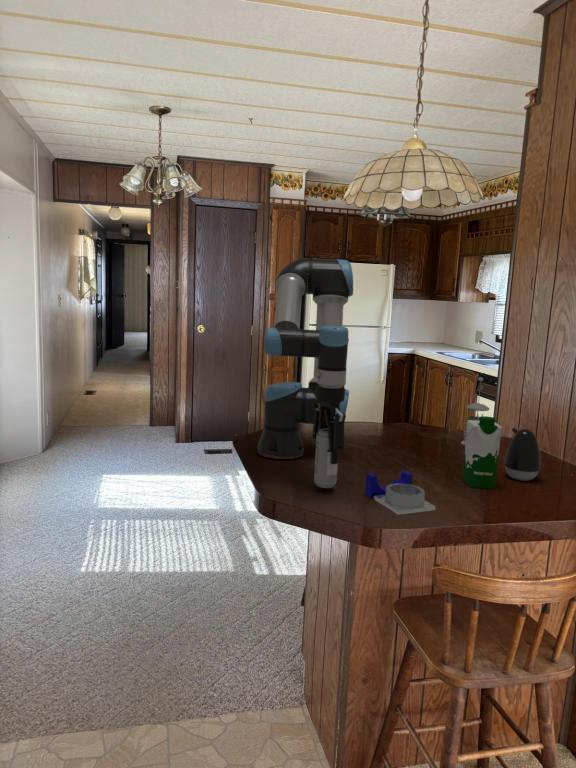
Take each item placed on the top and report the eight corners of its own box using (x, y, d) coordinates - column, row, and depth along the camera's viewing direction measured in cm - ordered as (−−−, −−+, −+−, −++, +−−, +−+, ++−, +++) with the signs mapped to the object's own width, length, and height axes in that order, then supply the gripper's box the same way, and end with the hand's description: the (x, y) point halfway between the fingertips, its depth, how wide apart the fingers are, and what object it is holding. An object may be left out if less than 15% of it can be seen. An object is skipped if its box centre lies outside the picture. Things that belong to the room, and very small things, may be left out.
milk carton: (467, 488, 161) (474, 418, 158) (458, 478, 170) (465, 412, 167) (498, 490, 161) (506, 420, 158) (488, 479, 170) (495, 413, 167)
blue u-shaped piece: (402, 490, 158) (403, 469, 157) (410, 495, 154) (412, 474, 153) (362, 493, 154) (364, 471, 153) (370, 499, 150) (371, 476, 149)
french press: (485, 441, 216) (492, 376, 213) (492, 449, 205) (499, 380, 201) (458, 439, 218) (464, 374, 214) (463, 447, 206) (470, 378, 202)
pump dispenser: (520, 471, 180) (526, 424, 178) (546, 482, 170) (552, 432, 168) (494, 474, 176) (499, 425, 174) (519, 484, 167) (525, 433, 164)
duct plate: (374, 499, 149) (375, 484, 148) (409, 495, 153) (410, 480, 153) (398, 514, 139) (399, 499, 138) (435, 510, 143) (436, 494, 143)
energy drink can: (331, 490, 150) (334, 434, 147) (310, 485, 153) (313, 431, 150) (339, 483, 155) (343, 429, 153) (319, 479, 158) (322, 426, 155)
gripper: (302, 379, 157) (298, 461, 160) (335, 392, 139) (329, 484, 143) (327, 379, 159) (322, 459, 163) (361, 391, 142) (355, 481, 146)
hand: (325, 470), depth 153 cm, fingers closed on energy drink can, 6 cm apart
